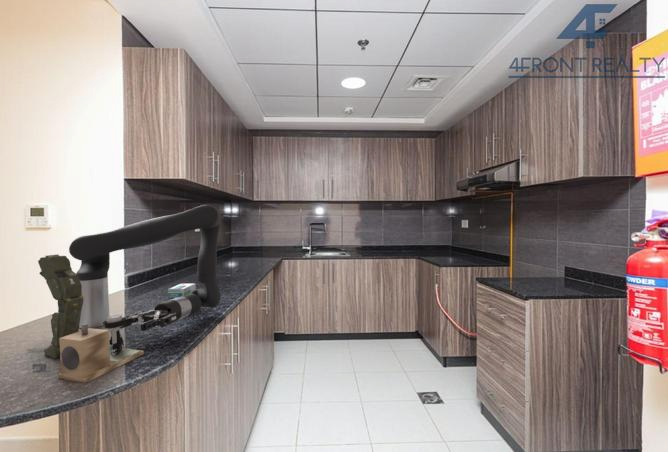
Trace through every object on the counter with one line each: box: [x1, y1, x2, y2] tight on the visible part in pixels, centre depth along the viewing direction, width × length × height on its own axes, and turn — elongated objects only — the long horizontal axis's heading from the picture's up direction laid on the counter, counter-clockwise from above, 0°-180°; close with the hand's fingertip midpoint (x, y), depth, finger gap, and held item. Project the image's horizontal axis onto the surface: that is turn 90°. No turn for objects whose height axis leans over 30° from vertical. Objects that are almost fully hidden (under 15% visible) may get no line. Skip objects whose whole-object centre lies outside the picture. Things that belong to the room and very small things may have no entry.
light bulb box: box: [167, 283, 197, 300], centre depth 130 cm, size 11×7×11 cm, turn 179°
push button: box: [103, 314, 126, 356], centre depth 88 cm, size 7×5×10 cm
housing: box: [57, 324, 145, 384], centre depth 83 cm, size 16×9×12 cm, turn 164°
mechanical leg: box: [37, 254, 84, 360], centre depth 91 cm, size 14×7×30 cm, turn 71°
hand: (130, 326), depth 91 cm, fingers open, 8 cm apart
